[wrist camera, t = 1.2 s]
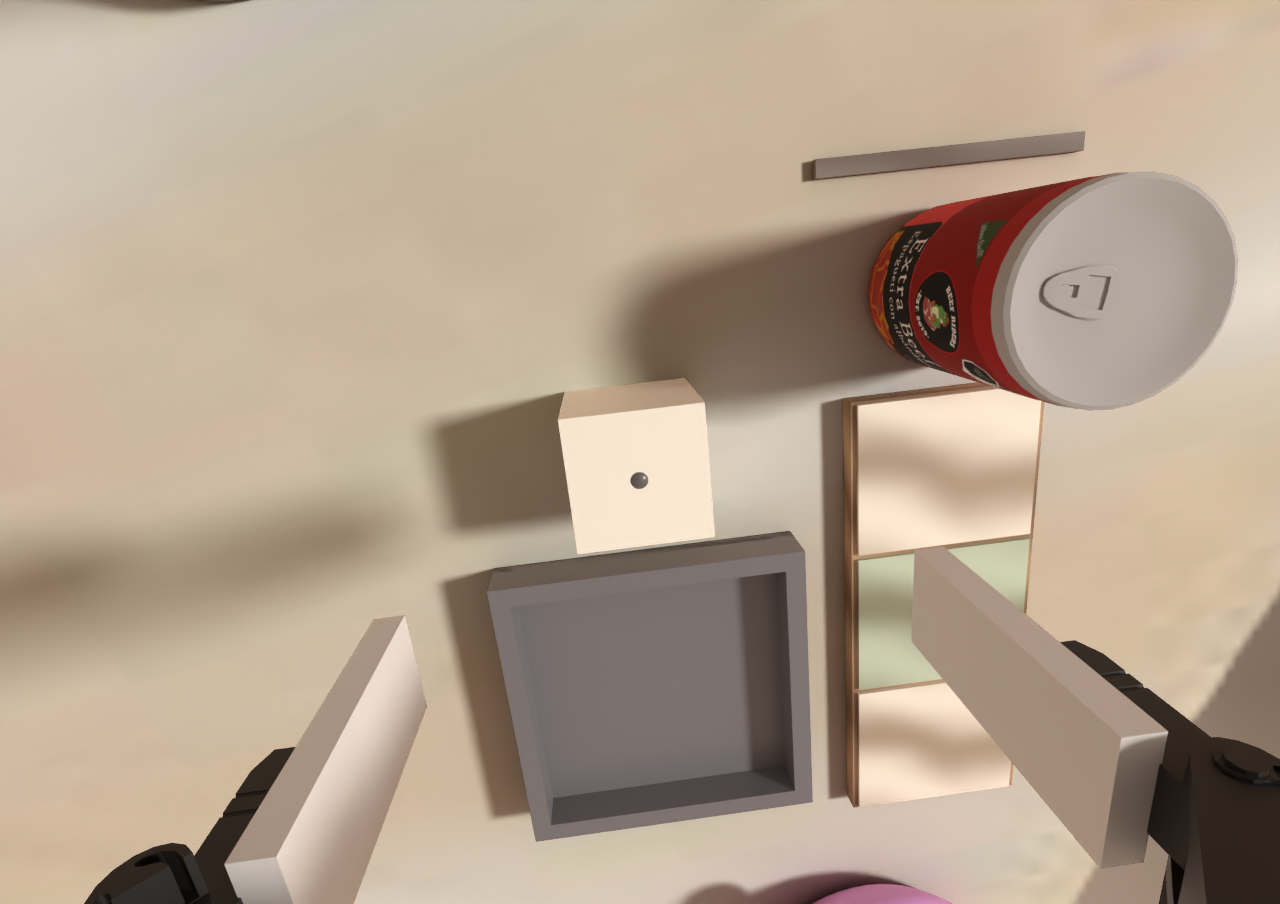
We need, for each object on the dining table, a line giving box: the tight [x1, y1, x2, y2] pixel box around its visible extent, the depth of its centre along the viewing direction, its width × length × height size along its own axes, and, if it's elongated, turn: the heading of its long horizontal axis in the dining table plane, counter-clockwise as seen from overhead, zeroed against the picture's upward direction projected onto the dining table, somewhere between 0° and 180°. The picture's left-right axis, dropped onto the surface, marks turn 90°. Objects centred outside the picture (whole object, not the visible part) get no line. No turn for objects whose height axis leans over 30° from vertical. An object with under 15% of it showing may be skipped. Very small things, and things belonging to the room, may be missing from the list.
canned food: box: [868, 172, 1238, 410], centre depth 25 cm, size 8×8×11 cm
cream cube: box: [558, 378, 715, 554], centre depth 29 cm, size 6×6×6 cm
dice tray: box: [487, 531, 813, 842], centre depth 35 cm, size 16×16×2 cm
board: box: [813, 131, 1085, 807], centre depth 34 cm, size 37×13×1 cm, turn 6°
